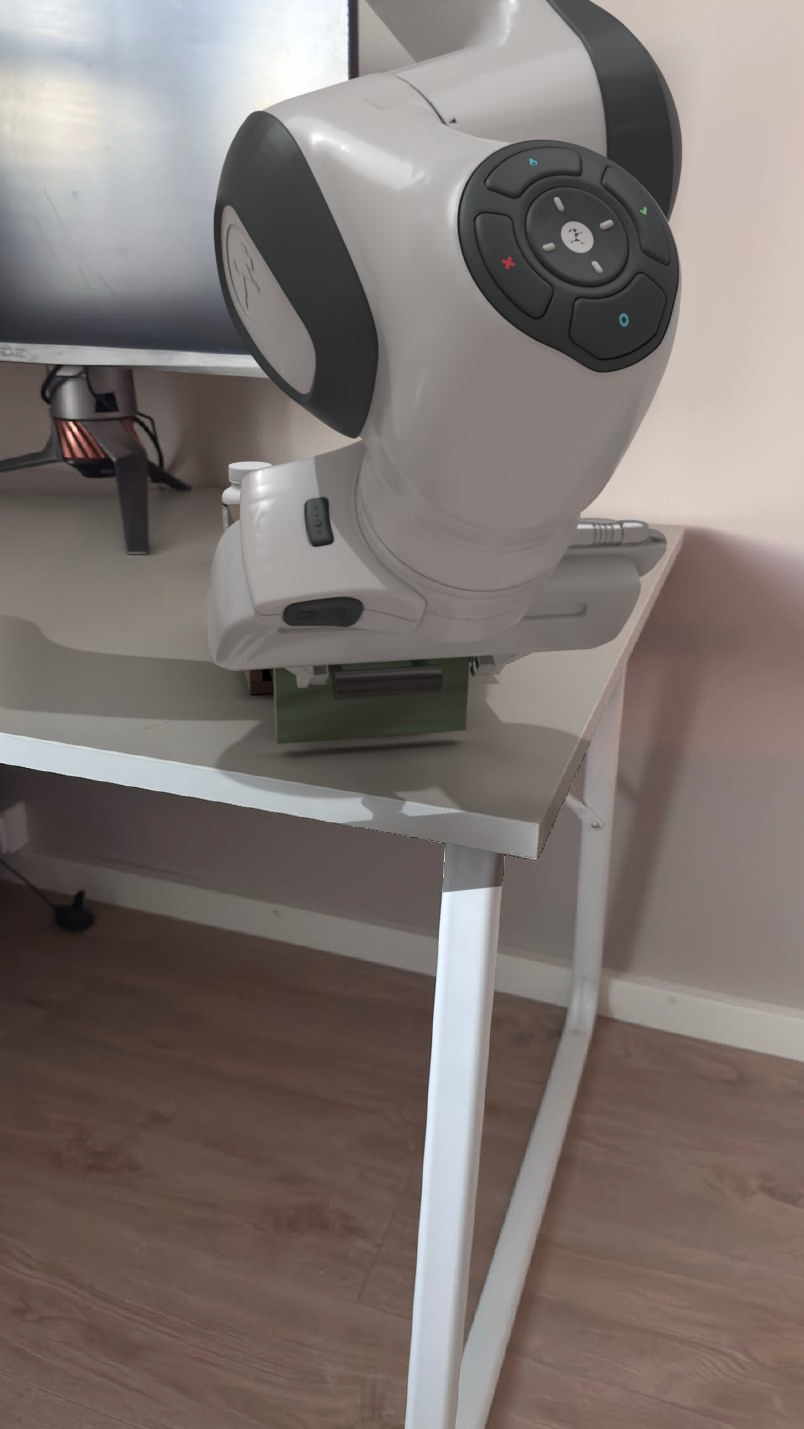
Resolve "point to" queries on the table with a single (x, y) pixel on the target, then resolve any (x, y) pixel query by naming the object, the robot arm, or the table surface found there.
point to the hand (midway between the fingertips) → (397, 669)
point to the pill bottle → (237, 484)
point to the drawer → (373, 700)
